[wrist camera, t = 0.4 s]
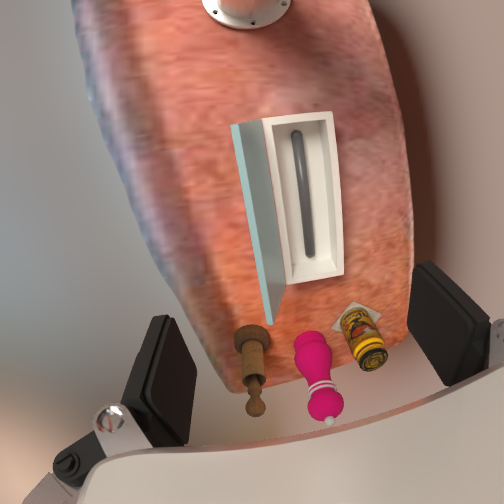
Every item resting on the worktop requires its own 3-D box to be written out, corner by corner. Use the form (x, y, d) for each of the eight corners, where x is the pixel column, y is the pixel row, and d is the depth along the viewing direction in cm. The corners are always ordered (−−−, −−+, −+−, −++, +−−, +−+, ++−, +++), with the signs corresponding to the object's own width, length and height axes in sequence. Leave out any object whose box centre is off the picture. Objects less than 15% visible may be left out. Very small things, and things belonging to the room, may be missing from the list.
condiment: (352, 300, 52) (374, 343, 41) (382, 313, 54) (405, 354, 43) (330, 328, 55) (346, 373, 44) (360, 338, 57) (379, 380, 46)
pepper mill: (331, 330, 55) (361, 412, 37) (318, 355, 58) (340, 435, 40) (298, 326, 54) (319, 413, 36) (286, 352, 57) (301, 436, 39)
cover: (261, 118, 33) (255, 119, 33) (238, 123, 25) (230, 125, 26) (286, 284, 44) (280, 284, 44) (273, 324, 36) (267, 324, 36)
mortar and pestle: (264, 320, 53) (273, 400, 37) (272, 344, 56) (281, 420, 40) (230, 328, 53) (228, 407, 37) (239, 351, 56) (240, 427, 40)
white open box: (259, 118, 37) (262, 118, 33) (321, 111, 37) (332, 111, 33) (282, 268, 48) (286, 284, 44) (334, 259, 48) (343, 274, 43)
